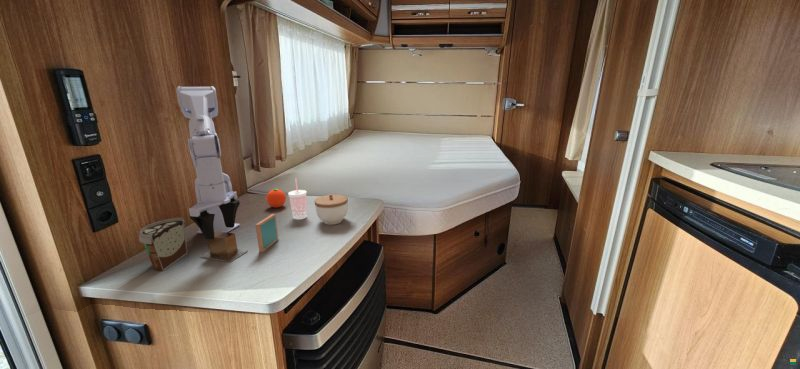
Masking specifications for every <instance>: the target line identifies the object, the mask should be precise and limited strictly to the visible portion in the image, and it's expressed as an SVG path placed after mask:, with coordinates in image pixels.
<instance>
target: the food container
mask: <svg viewBox="0 0 800 369" xmlns="http://www.w3.org/2000/svg"><path fill="white" fill-rule="evenodd" d="M185 225H186V221H185V219H184V218H183V217H174V218H168V219H164V220H159V221H156V222H153V223H150V224H148V225H146V226H144V227H142V228H141V230H140V231H139V235H138V236H139V238H138V241H139V242H140V243H141V244H143V245H144V248H145V250H146V253H147V255H148V258H149V260H150V263H151V266H152V269H153V270H154V271H158V272H159V271H160V272H164V271H165V270H167V269H168V268H169V267H171V266H172V265H173V264H175V263H176V262H177V261H179V260H181V259H182V258H183V257H184V256H186V255H187V254H189V252H188V246H187V244H188V243H187V238H186V237H187V236H186V230H185Z"/></svg>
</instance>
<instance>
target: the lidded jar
mask: <svg viewBox="0 0 800 369" xmlns="http://www.w3.org/2000/svg"><path fill="white" fill-rule="evenodd" d="M348 201H349V200H348V197H347V195H342V194H333V193H332V194H331V193H330V194H327V195H326V194H325V195H322V196H319V197H316V199H315V200H314V201H313V202H314V205H315V212H316V215H317V217H318V218H319V220H320V221H321V222H323V223H324V225H337V224H340V223H342V222H343V220H344V219H345V217H346V216H347V213H348V207H349V206H348V205H349V203H348Z"/></svg>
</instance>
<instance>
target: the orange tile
mask: <svg viewBox="0 0 800 369" xmlns="http://www.w3.org/2000/svg"><path fill="white" fill-rule="evenodd" d="M276 218H277V217H276V214H275V213H272V214H270V215H268V216H267V217H265V218H263V219H262V220H260V221H259V222H257V223H255V224H254V225H255V232H256V238H257V245H258V250H259V252H260V253H264V252H265V251H266V250H267V249H268V248H270V247H271V246H273V245H274V244H275V243H276V242H277V241H279V234H278V227H277V219H276Z"/></svg>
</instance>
